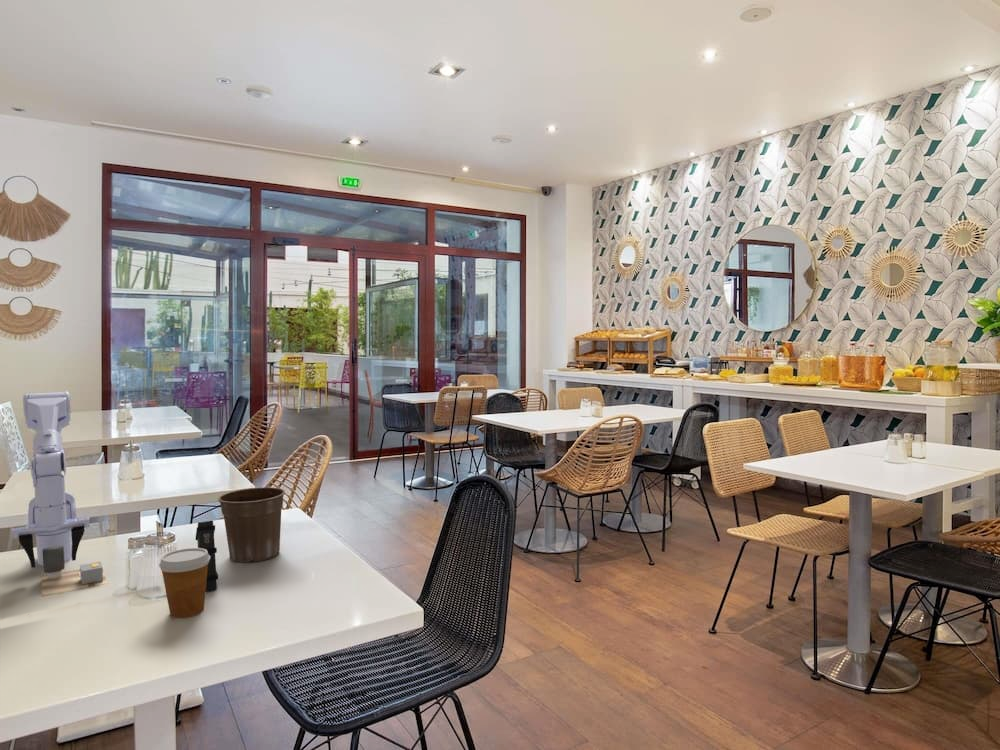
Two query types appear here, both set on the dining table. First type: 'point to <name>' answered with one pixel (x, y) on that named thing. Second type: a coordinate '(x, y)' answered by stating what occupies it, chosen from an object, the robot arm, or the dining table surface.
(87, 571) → the block
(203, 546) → the black stepped upright piece
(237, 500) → the plant pot
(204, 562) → the disposable coffee cup
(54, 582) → the plank
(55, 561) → the dark grey piece
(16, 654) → the dining table surface
